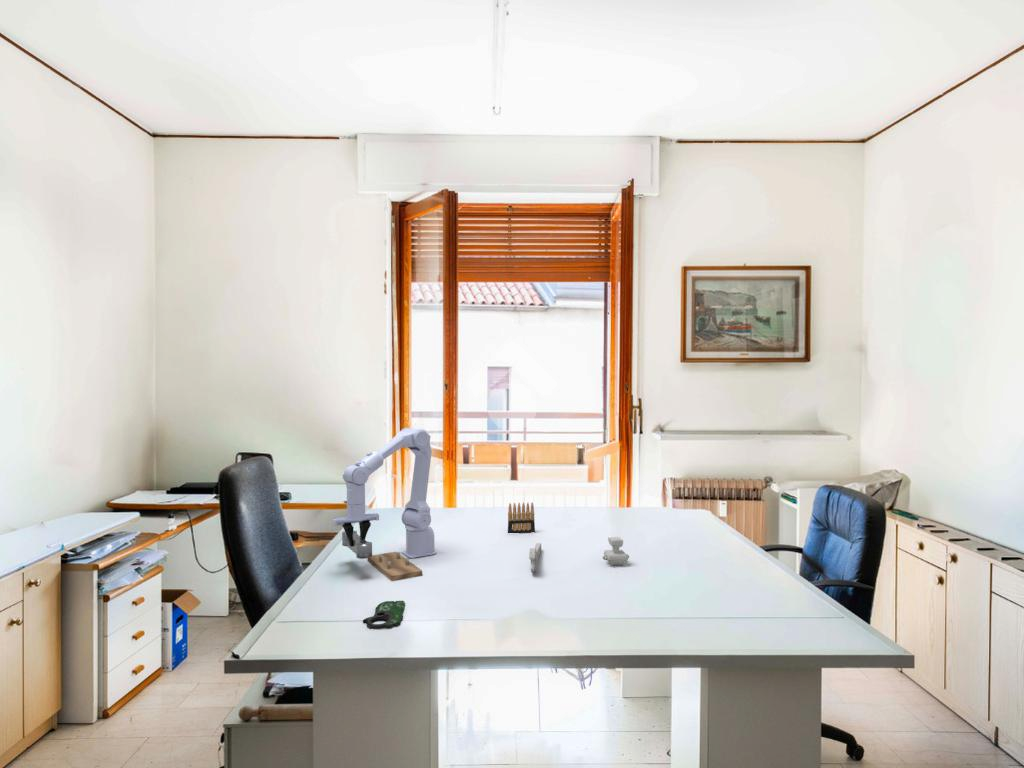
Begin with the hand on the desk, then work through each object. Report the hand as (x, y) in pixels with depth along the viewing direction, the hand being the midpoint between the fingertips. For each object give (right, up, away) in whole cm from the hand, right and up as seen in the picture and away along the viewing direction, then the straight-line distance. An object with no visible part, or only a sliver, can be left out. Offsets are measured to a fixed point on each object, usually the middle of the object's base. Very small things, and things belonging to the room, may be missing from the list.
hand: (356, 544), depth 202 cm
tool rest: (+11, -8, +2) cm, 14 cm away
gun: (+17, -10, -38) cm, 42 cm away
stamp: (+84, -8, +5) cm, 85 cm away
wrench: (+58, -8, +7) cm, 59 cm away
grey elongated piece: (0, -2, 0) cm, 2 cm away
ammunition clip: (+54, -7, +45) cm, 70 cm away
